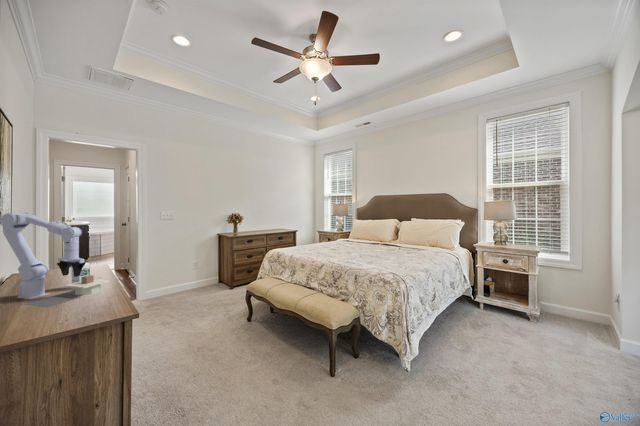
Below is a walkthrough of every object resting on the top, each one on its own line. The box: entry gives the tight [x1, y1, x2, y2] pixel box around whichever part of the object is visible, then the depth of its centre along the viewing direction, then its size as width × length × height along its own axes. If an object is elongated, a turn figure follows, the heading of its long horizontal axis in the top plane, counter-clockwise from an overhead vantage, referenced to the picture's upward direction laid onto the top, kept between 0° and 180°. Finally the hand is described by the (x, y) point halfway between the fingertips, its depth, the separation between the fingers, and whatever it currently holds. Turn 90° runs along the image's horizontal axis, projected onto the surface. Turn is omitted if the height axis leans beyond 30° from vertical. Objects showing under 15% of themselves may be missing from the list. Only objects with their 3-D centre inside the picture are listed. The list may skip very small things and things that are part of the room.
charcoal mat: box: [23, 294, 81, 308], centre depth 128 cm, size 16×14×1 cm
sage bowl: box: [74, 284, 102, 296], centre depth 141 cm, size 10×10×5 cm
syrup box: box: [70, 261, 91, 290], centre depth 148 cm, size 6×6×14 cm
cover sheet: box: [63, 274, 110, 288], centre depth 141 cm, size 13×13×4 cm
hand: (71, 275), depth 137 cm, fingers open, 7 cm apart
